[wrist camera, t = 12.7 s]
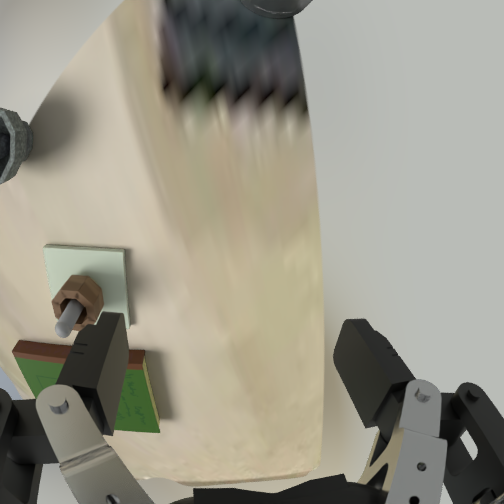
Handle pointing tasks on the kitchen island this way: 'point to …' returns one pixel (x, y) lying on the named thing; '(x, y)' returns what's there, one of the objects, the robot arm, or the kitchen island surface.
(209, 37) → the kitchen island surface
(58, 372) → the hardcover book
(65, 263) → the post
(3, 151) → the mortar and pestle
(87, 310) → the ring
